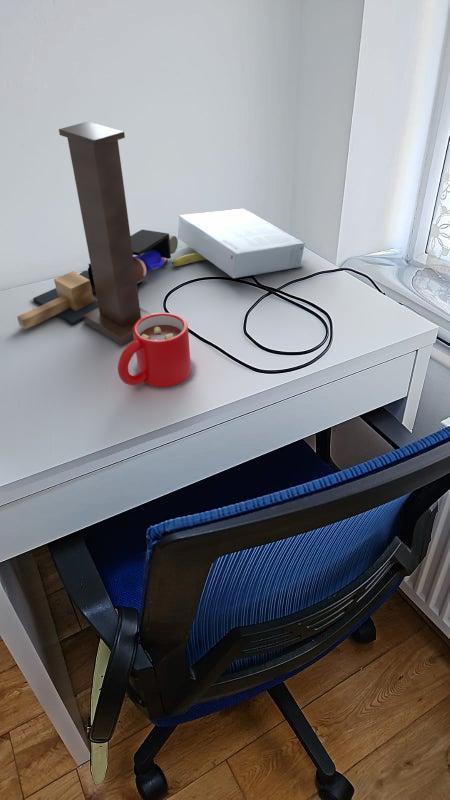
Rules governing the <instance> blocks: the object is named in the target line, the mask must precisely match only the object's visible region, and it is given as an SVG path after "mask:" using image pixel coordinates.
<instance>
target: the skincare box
mask: <svg viewBox="0 0 450 800" xmlns="http://www.w3.org/2000/svg"><path fill="white" fill-rule="evenodd" d="M177 225H178V226H177V240H180V241H181V242H182V243H184V244H185V245H186V246H187V247H189V248H190V249H192V250H194V251H195V253H199V254H200V255H202V256H203V257H205V258H206V259H207V260H206V261H209V262H210V263H211V264H213V265H214V266H216V267H217V268H218V269H220V270H221V271H223V272H224V273H226V275H228V276H230V277H231V278H232V279H238V278H244V277H249V276H254V275H256V276H257V275H261V274H267V273H272V272H273V273H274V272H279V271H285V270H291V269H296V268H301V264H302V260H303V254H304V249H305V245H306V244H305V242H303V241H301V240H300V239H298V238H296V237H295V236H293V235H291V234H290V233H288V232H286V231H285V230H282V229H281V228H279V227H277V226H276V225H273V224H272V223H270V222H269V221H266V220H265V219H263V218H261V217H259V216H258V215H256V214H254V213H252V212H251V211H249V210H247V209H245V208H237V209H227V210H218V211H208V212H198V213H189V214H179V215H178V224H177Z"/></svg>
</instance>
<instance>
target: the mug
mask: <svg viewBox="0 0 450 800" xmlns="http://www.w3.org/2000/svg"><path fill="white" fill-rule="evenodd" d="M133 336H134V339H133V340H132V341H130V343H129V344H128V345H127V346H126V347H125V348H124V349H123V351H122V352H121V354H120V356H119V358H118V364H117V374H118V377H119V379H120V380H121V381H122V382H123V383H124V384H126V385H128V386H138V385H140V384H143V383H145V384H147V385H149V386H152V387H157V388H168V387H169V388H170V387H173V386H176V385H179V384H181V383H183V382H184V381H185V380H187V379H188V378H189V376H190V375H191V371H192V364H191V351H190V350H191V349H190V337H189V325H188V322H187V321H186V320H185V318H184V317H182V316H180V315H178V314H175V313H171V312H155V313H151V314H150V315H147V316H145V317H143V318H141V319H139V320H138V321H137V322H136V323H135V325H134V326H133ZM134 355H135V356H136V363H137V370H138V373H137V374H134V375H133V374H130V372H129V364H130V362H131V359H132V357H133V356H134Z"/></svg>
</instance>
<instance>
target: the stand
mask: <svg viewBox="0 0 450 800" xmlns="http://www.w3.org/2000/svg"><path fill="white" fill-rule="evenodd" d="M58 133H59V135H60V136H62V137H63V138H67V142H68V143H67V144H68V148H69V149H68V150H69V155H70V160H71V165H72V170H73V176H74V182H75V187H76V191H77V198H78V203H79V204H78V205H79V208H80V215H81V220H82V224H83V231H84V236H85V240H86V246H87V251H88V257H89V263H91V269H92V274H93V279H94V285H95V290H96V294H95V296H96V301H97V302H98V306H99V308H97V309H95V310H93V311H91V312H89V313H87V314H85V315H83V317H84V320H83V321H84V324H86V325H87V326H89V327H90V328H92V329H93V330H96V331H97V332H99V333H101V334H102V335H104V336H105V337H107V338H108V339H110V340H112V341H114V342H115V343H117V344H119V345H120V346H124V345H125V344H127V343H129V342H132V341H134V336H133V326H134V325H135V323H136V322H137V321H138V320H139V319H141V318H143V317H145V316H147V315H150V314H152V313H151V312H149V311H148V310H145V309H144V308H141V306H140V299H139V298H140V297H139V290H138V288H137V282H136V275H135V267H134V259H133V257H134V255H133V252H132V244H131V237H130V236H131V229H130V223H129V215H128V207H127V199H126V193H125V185H124V184H125V183H124V177H123V169H122V161H121V154H120V146H119V140H123V139H125V138H126V135H125V132H124V131H123V130H118V129H116V128H112V127H109V126H105V125H102V124H99V123H96V122H91V121H84V122H81V123H76V124H73V125H70V126H66V127H62V128H59V129H58Z"/></svg>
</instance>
